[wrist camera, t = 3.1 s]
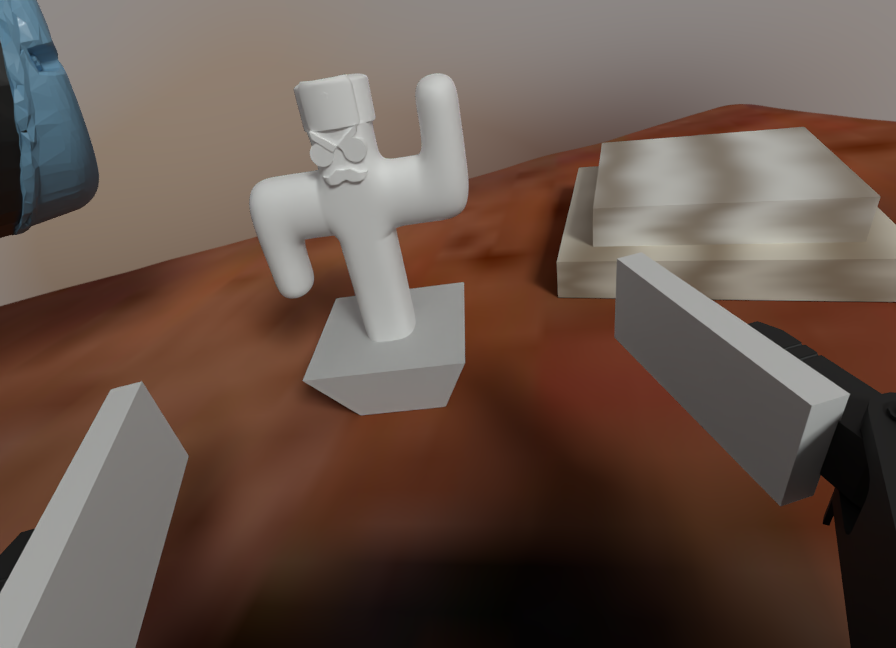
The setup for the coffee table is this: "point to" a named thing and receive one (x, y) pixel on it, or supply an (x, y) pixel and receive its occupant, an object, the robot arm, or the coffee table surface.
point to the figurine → (372, 244)
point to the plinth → (733, 263)
